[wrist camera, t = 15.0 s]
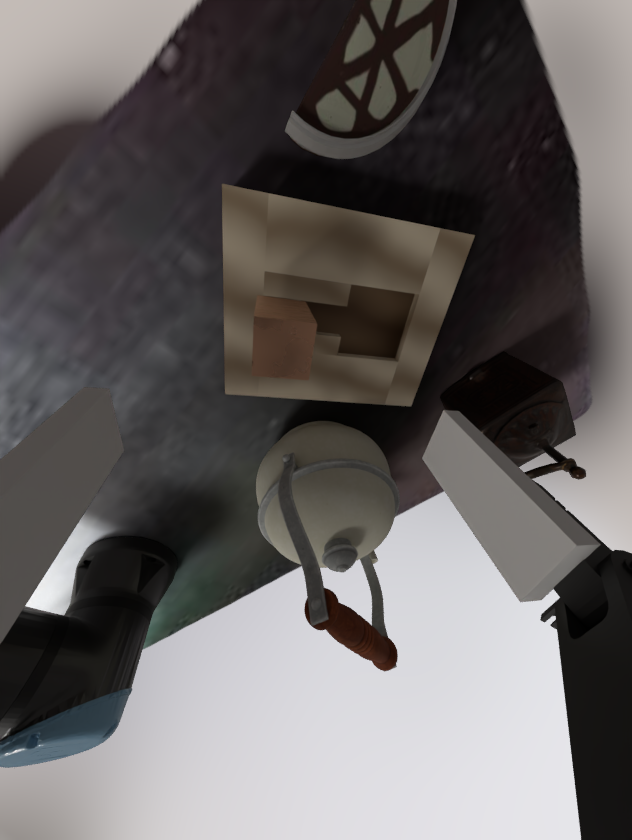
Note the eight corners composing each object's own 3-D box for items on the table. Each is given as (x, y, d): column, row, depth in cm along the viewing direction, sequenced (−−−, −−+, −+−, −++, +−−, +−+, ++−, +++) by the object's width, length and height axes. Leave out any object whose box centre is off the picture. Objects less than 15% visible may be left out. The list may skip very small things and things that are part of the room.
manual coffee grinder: (504, 345, 39) (652, 417, 24) (525, 398, 44) (656, 484, 29) (405, 413, 43) (479, 512, 28) (435, 454, 48) (511, 555, 33)
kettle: (223, 439, 41) (178, 655, 20) (338, 372, 38) (425, 548, 17) (311, 527, 54) (339, 712, 33) (402, 484, 51) (494, 657, 30)
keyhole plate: (396, 388, 40) (411, 406, 36) (229, 374, 36) (225, 394, 32) (446, 234, 31) (475, 235, 26) (228, 190, 26) (221, 183, 22)
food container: (333, 210, 28) (361, 202, 20) (280, 156, 25) (286, 121, 17) (429, 63, 24) (516, -26, 15) (376, -21, 21) (448, -183, 13)
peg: (298, 332, 32) (314, 387, 21) (252, 327, 31) (244, 381, 20) (303, 283, 30) (326, 316, 19) (254, 276, 29) (245, 306, 18)
